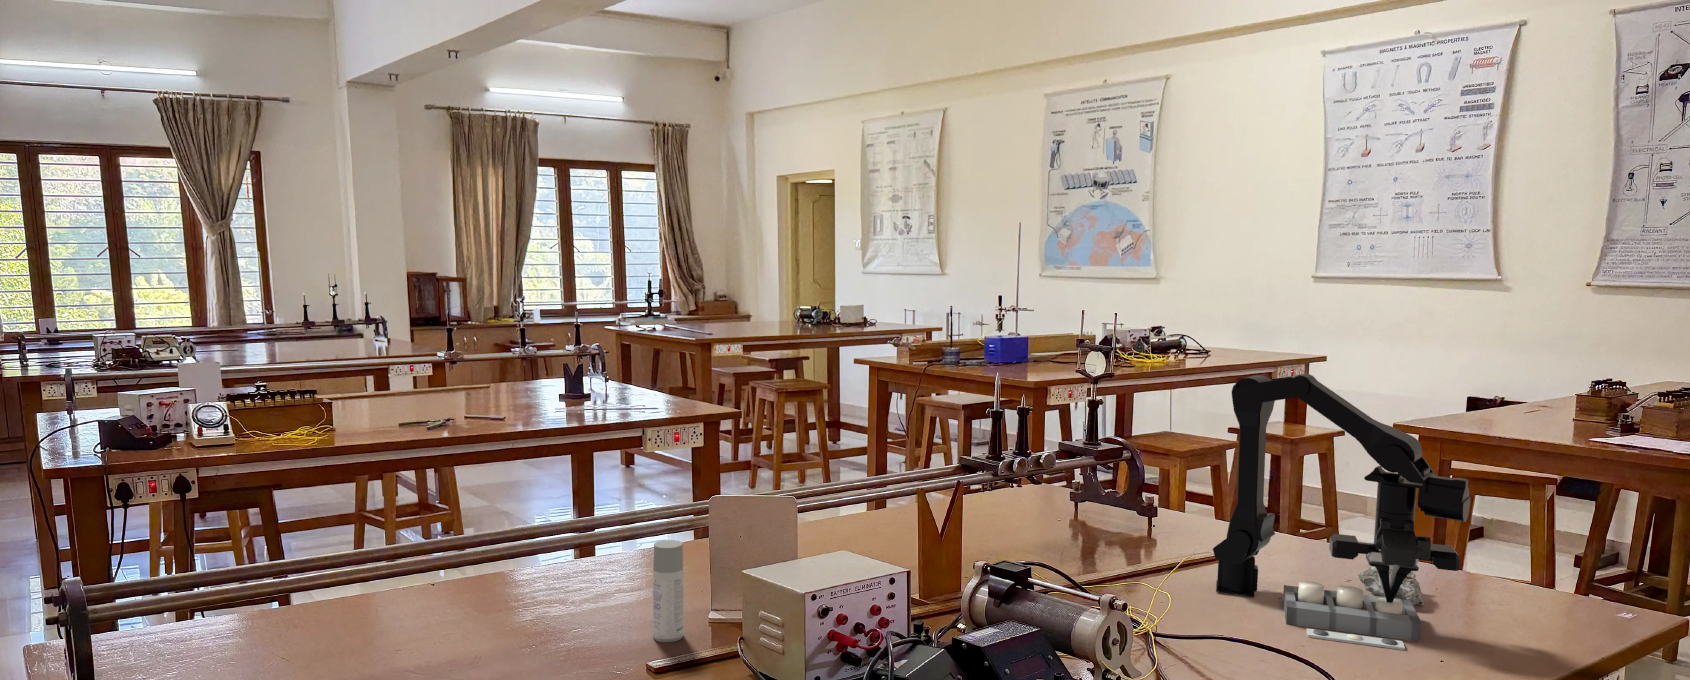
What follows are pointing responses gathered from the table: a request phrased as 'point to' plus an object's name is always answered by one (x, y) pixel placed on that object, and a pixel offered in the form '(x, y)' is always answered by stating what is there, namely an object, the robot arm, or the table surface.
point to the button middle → (1349, 597)
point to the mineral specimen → (1373, 582)
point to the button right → (1389, 606)
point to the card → (1355, 639)
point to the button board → (1352, 616)
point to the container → (668, 591)
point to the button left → (1311, 592)
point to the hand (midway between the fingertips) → (1389, 601)
